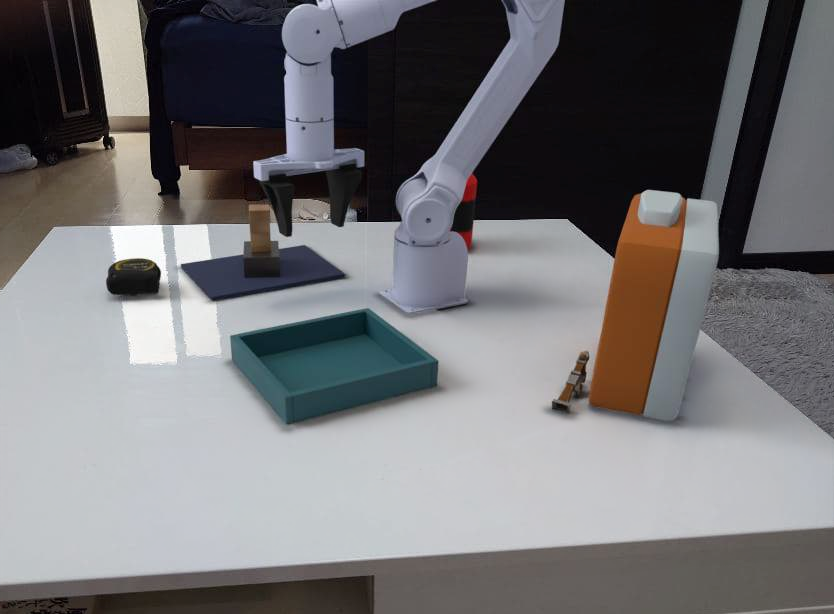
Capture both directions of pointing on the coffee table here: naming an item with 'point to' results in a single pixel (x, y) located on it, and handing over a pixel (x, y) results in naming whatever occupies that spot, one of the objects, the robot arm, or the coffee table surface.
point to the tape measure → (133, 277)
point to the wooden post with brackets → (573, 383)
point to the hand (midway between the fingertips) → (312, 229)
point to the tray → (331, 364)
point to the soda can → (466, 212)
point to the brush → (260, 246)
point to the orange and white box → (655, 304)
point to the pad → (229, 280)
